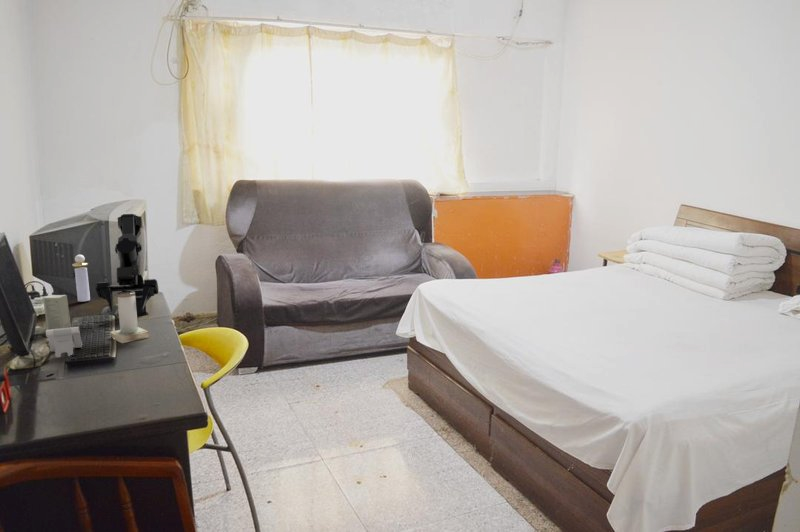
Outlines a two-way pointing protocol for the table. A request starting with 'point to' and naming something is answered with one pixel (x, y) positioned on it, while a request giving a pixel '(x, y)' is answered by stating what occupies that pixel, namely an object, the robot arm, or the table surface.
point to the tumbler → (127, 312)
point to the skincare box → (56, 312)
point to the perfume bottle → (81, 279)
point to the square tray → (130, 335)
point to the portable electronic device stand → (63, 340)
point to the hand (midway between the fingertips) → (126, 309)
